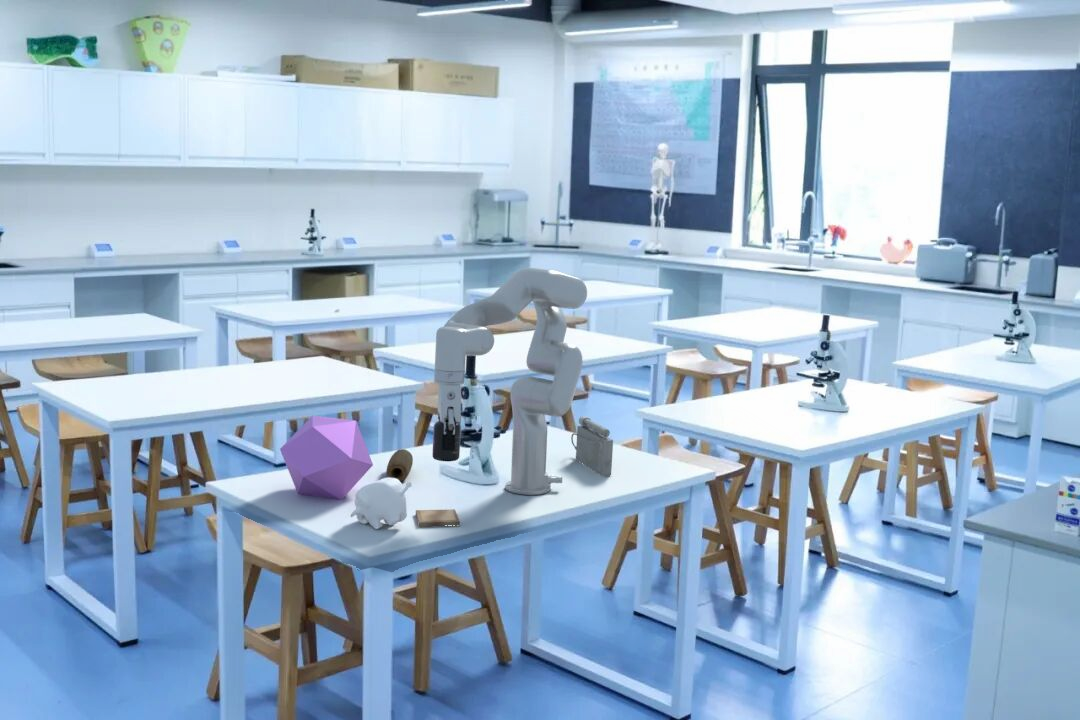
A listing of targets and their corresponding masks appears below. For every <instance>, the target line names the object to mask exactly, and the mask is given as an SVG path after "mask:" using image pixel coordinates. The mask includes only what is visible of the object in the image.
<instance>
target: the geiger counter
mask: <svg viewBox="0 0 1080 720" xmlns="http://www.w3.org/2000/svg"><path fill="white" fill-rule="evenodd" d="M578 423H579V425H577V427H576V430H577V431H576V432H574V433H573V432H572V434H571V440H570V441H571V444H572V446H573V447H574V450H575V460H576V459H577V460H578V461H577V460H576V461H577V462H579V461H580V462H581V463H580V462H579V463H580V464H582V463H583V464H584V465H583V464H582V465H583V466H585V465H586V466H585V467H587V468H588V467H589V468H588V469H590V470H591V469H592V471H593V472H594V471H595V472H594V473H597V474H598V475H599V474H600V475H599V476H601V477H611V476H612V469H613V467H612V466H613V450H614V439H613V438H612V439H611V437H609V436H610V434H611V432H610V430H609V429H607V428H605V427H604V426H602V425H600V424H598V423H596V422H594V421H592V420H591V418H590V417H588V416H586V415H581V416H580V418H579V419H578ZM574 435H575V436H576V445H575V443H574V440H573V439H574V438H573V437H574ZM610 475H611V476H610Z"/></svg>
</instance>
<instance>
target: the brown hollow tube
mask: <svg viewBox="0 0 1080 720" xmlns="http://www.w3.org/2000/svg"><path fill="white" fill-rule="evenodd" d="M413 462H414V458H413V455H412V453H411V452H410V451H408V450H407V449H404V448H403V449H401V448H400V449H397V450H396V451H395V452H394V453H393V454H392V455H391V457H390V459H389V461H388V463H387V466H386V476H387V478H396V479H398V480H399V481H400V482H401V481H404V480H406V479H407V478H408V476H410V472H411V470H412V468H413V464H414V463H413Z"/></svg>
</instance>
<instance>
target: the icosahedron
mask: <svg viewBox="0 0 1080 720" xmlns="http://www.w3.org/2000/svg"><path fill="white" fill-rule="evenodd" d="M358 424H359V423H358V422H357V420H353V419H345V418H337V417H329V416H320V415H311V417H310V418H308V419H307V420H306V421H305V423H303V424H302V426H301V427H299V429H298V430H297V431H296V432H295V433H294V434H293V435H292V436H291V437H290V438H289V439H288V440H287V441H286V442H285V443H284V444H283V445H282V446H281V447H280V448H279V450H280V453H281V455H282V458H283V461H284V462H285V463H284V464H285V465H286V468H287V470H288V473H289V476H290V477H291V481H292V482H293V485H294V488H295V490H296V493H297V494H298V493H299V495H306V496H313V497H320V498H327V499H333V500H339V501H340V500H341V501H342V500H343V499H344V498H345V497H346V496H347V494H349V492H351V490H352V489H353V488H354V487H355V486H356V485H357V483H359V481H360V480H361V479H362V478H363V477H364V476H365V475H366V474H367V472H369V470H370V469H371V468H372V467H373V466H374V464H373V461H372V458H371V456H370V453H369V450H368V448H367V445H366V442H365V441H364V438H363V435H362V432H361V430H360V427H359V425H358Z"/></svg>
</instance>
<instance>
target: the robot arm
mask: <svg viewBox="0 0 1080 720" xmlns="http://www.w3.org/2000/svg"><path fill="white" fill-rule="evenodd" d="M587 297H588V289H587V286H586V284H585V282H584V281H583V279H580V278H578V277H575V276H572V275H568V274H565V273H562V272H559V271H556V270H551V269H546V268H535V267H523V268H520V269H518V270H516V271H515V272H514V273H513V274H512V275H511V276H510V277H509V278H508V279H507V280H506V281H505V282H503V284H502V285H501V286H500V287H499V288H498V289H497V290H495V292H493V294H491V295H489V296H487V297H485V298H482V299H480V300H477V301H476V302H473V303H470V304H468V305H466V306H464V307H462V308H461V309H459V310H458V311H457V312H455V313H454V314H453V315H452V316H451V317H450V318H449V319H448V320H447V321H446V322H445V324H444V326H441V327H439V328H437V329H436V333H435V334H436V336H435V354H434V355H435V356H434V357H435V358H434V374H433V375H434V378H433V379H434V380H433V381H434V383H435V384H438V389H437V391H438V392H437V413H438V412H439V416H440V421H441V422H442V423H443V434H442V450H455V421H456V422H457V423H458V424H460V423H461V421H462V420H461V415H462V410H461V409H462V389H461V385H463V384H465V378H466V377H465V375H466V357H467V356H479V357H480V356H484V355H486V354H488V353H489V352H490V351H491V350H492V349H493V347H494V344H495V335H494V334H493V332H492V331H491V330H490V329H489V328H488V327H490V326H497V325H502V324H505V323H509V322H512V321H513V320H515V319H516V318H517V317H518V316H519V314H520V313H522V312H523V310H524V309H525V308H526V307H528V306H529V304H531V302H532V303H533V306H534V309H535V312H536V325H535V328H534V332H533V335H532V338H531V342H530V345H529V348H528V352H527V356H526V367H527V368H528V369H529V370H530V371H531V372H533V373H536V374H539V375H544V376H551V377H553V380H551V379H547V378H542V377H536V376H530V375H529V376H528V375H527V376H521V377H519V378H517V379H515V380H514V381H513V383H512V384H511V385H512V386H511V387H510V391H509V392H510V393H509V394H510V403H511V409H512V442H511V443H512V444H511V445H512V446H511V448H512V449H511V473H510V475H511V476H510V480H508V481H506V482H505V485H504V487H505V490H506V491H508V492H510V493H513V494H517V495H526V496H537V495H543V494H546V493H548V492H550V491H551V488H552V487H551V486H552V484H563V476H561V475H560V476H559V475H556V474H548V473H547V470H546V469H547V446H548V424H547V421H546V417H545V416H549V417H550V416H551V417H555V418H556V417H557V418H558V417H562V416H565V415H566V414H567V412H568V411H569V410H570V408H571V405H572V404H573V399H574V397H575V393H576V390H577V386H578V383H579V379H580V376H581V373H582V369H583V355H582V351H581V349H580V348H579V347H577V345H575V344H572V343H567V342H564V341H565V336H566V333H567V328H568V326H567V319H566V316H565V314H564V312H563V310H562V308H563V309H572V310H576V309H579V308H580V307H581V306H583V305H584V304H585V302H586V301H587ZM447 411H448V414H447ZM544 415H545V416H544ZM445 420H448V422H445ZM446 425H447V427H446Z"/></svg>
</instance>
